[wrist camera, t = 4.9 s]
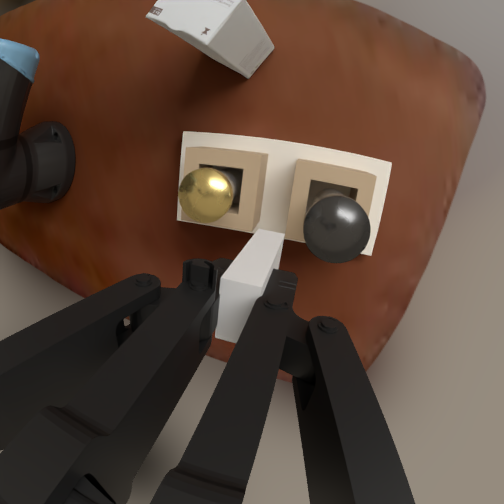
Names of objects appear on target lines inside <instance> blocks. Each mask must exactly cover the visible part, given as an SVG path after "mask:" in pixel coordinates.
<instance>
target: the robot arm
mask: <svg viewBox="0 0 504 504" xmlns="http://www.w3.org/2000/svg"><path fill="white" fill-rule="evenodd" d="M38 63H39V53H38V52H37V51H36V50H35V49H33V48H31V47H28V46H26V45H23V44H19V43H16V42H13V41H9V40H5V39H0V210H1V209H3V208H6V207H9V206H11V205H14V204H16V203H19V202H22V201H27V202H38V203H49V202H52V201H55V200H58V199H60V198H61V197H63V196H64V195H65V194H66V192H67V191H68V189H69V187H70V185H71V183H72V180H73V176H74V170H75V150H74V145H73V141H72V138H71V136H70V134H69V132H68V130H67V129H66V128H65V126H63V125H62V124H61V123H59V122H55V121H51V122H42V123H39V124H37V125H35V126H33V127H31V128H29V129H27V130H26V131H24V132H22V133H20V134H19V130H20V125H21V121H22V117H23V113H24V109H25V106H26V102H27V99H28V96H29V92H30V89H31V86H32V83H34V76H35V72H36V69H37V66H38ZM284 236H285V234H282V233H277V232H273V231H268V230H263V229H258V230H257V231H256V232H255V234H254V235H253V236H252V238H251V239H250V240H249V242H248V243H247V244H246V245H245V247H244V248H243V249H242V251H241V252H240V253H239V255H238V256H237V257H236V258H235V260H229V259H225V258H219V259H217V260H214V261H213V262H212V261H209V260H206V259H190V260H186V261H184V262H183V278H182V283H181V284H180V285H179V286H178V287H177V288H163V287H161V282H160V280H159V278H157V277H156V276H154V275H150V274H145V273H143V274H137V275H134V276H131V277H129V278H127V279H125V280H123V281H120V282H118V283H116V284H114V285H112V286H110V287H108V288H106V289H104V290H102V291H99V292H97V293H95V294H93V295H91V296H89V297H87V298H85V299H83V300H81V301H79V302H77V303H75V304H73V305H71V306H69V307H67V308H64V309H63V310H60V311H58V312H56V313H54V314H52V315H50V316H48V317H46V318H44V319H42V320H40V321H39V322H37V323H35V324H33V325H31V326H29V327H27V328H25V329H23V330H21V331H19V332H17V333H15V334H13V335H11V336H9V337H7V338H6V339H4V340H2V341H0V450H3V449H4V450H3V451H2V452H1V453H0V504H126V503H127V501H128V499H129V497H130V494H131V489H132V482H133V479H134V477H135V476H136V474H137V472H138V470H139V469H140V467H141V465H142V464H143V462H144V460H145V458H146V457H147V455H148V453H149V452H150V450H151V448H152V446H153V445H154V443H155V441H156V439H157V438H158V436H159V434H160V432H161V431H162V429H163V427H164V426H165V424H166V422H167V421H168V419H169V417H170V415H171V414H172V412H173V410H174V408H175V407H176V405H177V403H178V401H179V399H180V398H181V396H182V394H183V393H184V391H185V389H186V387H187V386H188V384H189V382H190V380H191V379H192V377H193V375H194V373H195V372H196V370H197V368H198V366H199V364H200V363H201V361H202V359H203V357H204V356H205V354H206V352H207V351H208V349H209V347H210V345H211V341H212V333H213V332H214V330H215V328H216V333H215V338H219V339H222V340H226V341H230V342H234V343H236V345H235V348H234V350H233V352H232V354H231V356H230V358H229V360H228V363H227V365H226V367H225V369H224V371H223V373H222V375H221V378H220V380H219V382H218V384H217V386H216V388H215V390H214V393H213V395H212V397H211V399H210V401H209V403H208V405H207V407H206V409H205V412H204V414H203V416H202V418H201V420H200V422H199V424H198V426H197V428H196V430H195V432H194V434H193V436H192V438H191V440H190V442H189V444H188V446H187V448H186V450H185V452H184V454H183V457H182V458H181V460H180V462H179V464H178V466H177V467H176V468H174V469H171V470H170V471H169V472H168V473H167V474H166V475H165V477H164V479H163V481H162V482H161V484H160V486H159V488H158V489H157V491H156V493H155V495H154V497H153V499H152V501H151V503H150V504H242V502H243V498H244V495H245V490H246V486H247V483H248V480H249V476H250V473H251V470H252V466H253V463H254V460H255V456H256V453H257V449H258V446H259V442H260V439H261V435H262V431H263V428H264V424H265V421H266V417H267V413H268V409H269V405H270V402H271V398H272V394H273V390H274V386H275V382H276V378H277V374H278V370H279V369H281V370H283V371H285V372H287V373H289V374H291V375H293V376H292V383H293V389H294V396H295V402H296V408H297V415H298V422H299V428H300V435H301V442H302V448H303V456H304V462H305V470H306V476H307V484H308V491H309V499H310V504H415V502H414V498H413V495H412V492H411V489H410V486H409V484H408V480H407V477H406V475H405V472H404V469H403V466H402V463H401V460H400V458H399V455H398V452H397V450H396V447H395V444H394V441H393V439H392V436H391V434H390V431H389V428H388V426H387V423H386V421H385V418H384V415H383V413H382V410H381V408H380V406H379V403H378V401H377V398H376V396H375V393H374V391H373V388H372V386H371V384H370V381H369V379H368V376H367V374H366V372H365V369H364V367H363V365H362V363H361V360H360V358H359V356H358V353H357V351H356V349H355V347H354V344H353V342H352V340H351V338H350V335H349V333H348V331H347V329H346V327H345V326H344V324H343V323H341V322H340V321H338V320H337V319H335V318H332V317H327V316H317V317H314V318H312V319H311V320H310V321H309V322H308V321H306V320H304V319H302V318H300V317H299V316H297V315H296V314H295V313H294V311H293V309H292V305H293V300H294V295H295V290H296V285H297V280H298V278H297V277H296V275H295V273H292V272H287V271H283V270H278V268H279V263H280V257H281V252H282V247H283V241H284ZM127 316H129V317H130V324H129V325H128V326H124V321H123V319H124V318H126V317H127Z"/></svg>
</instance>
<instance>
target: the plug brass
mask: <svg viewBox="0 0 504 504" xmlns="http://www.w3.org/2000/svg"><path fill="white" fill-rule="evenodd" d="M242 178H243V174H242V173H241V172H240V171H239V170H237V169H235V168H226V169H222V170H219V171H218V170H216V169H213V168H201V169H197V170H194V171H192V172H190V173H188V174H187V175H186V176H185V177H184V179H183V180H182V182H181V184H180V187H179V192H178V197H179V202H180V205H181V207H182V209H183V211H184V212H185V213H186V215H187V216H189V217H190V218H191V219H193V220H195V221H197V222H201V223H211V222H214V221H216V220H218V219H220V218H221V217H222V216H224V215H225V214H226V213H227V212H228V210H229V209H230V207H231V205H232V201H233V199H235V198H236V197H238V196H239V195H240V194H241V186H242Z"/></svg>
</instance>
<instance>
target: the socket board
mask: <svg viewBox="0 0 504 504" xmlns="http://www.w3.org/2000/svg"><path fill="white" fill-rule="evenodd" d="M391 165H392V163H391V162H387V161H383V160H379V159H375V158H371V157H366V156H362V155H358V154H353V153H349V152H344V151H339V150H334V149H329V148H323V147H318V146H312V145H307V144H301V143H294V142H288V141H281V140H274V139H266V138H258V137H249V136H240V135H230V134H218V133H204V132H187V131H183V139H182V150H181V162H180V175H179V187H180V184H181V182H182V180H183V179H184V177H185V176H186V175H187V174H188V173H190V172H192V171H194V170H197V169H201V168H213V169H216V170H218V171H219V170H222V169H226V168H235V169H237V170H239V171H240V172H241V173H242V174H243V178H242V186H241V194H240V195H239V196H238V197H236V198H235V199H233V201H232V205H231V207H230V209H229V210H228V212H227V213H226V214H225V215H224V216H222V217H221V218H220V219H218V220H216V221H214V222H211V223H201V222H197V221H195V220H193V219H191V218H190V217H189V216H187V215H186V213H185V212H184V211H183V209H182V207H181V205H180V202H179V197H178V209H177V220H179V221H185V222H191V223H197V224H203V225H208V226H214V227H220V228H226V229H232V230H237V231H243V232H249V233H254V234H255V232H256V231H257V230H258V229H263V230H268V231H273V232H277V233H282V234H285V236H284V239H287V240H293V241H298V242H303V243H306V242H305V239H304V235H303V226H304V219H305V216H306V213H307V212H308V210H309V208H310V207H311V206H312V203H313V199H314V197H315V196H316V194H317V193H318V192H319V191H321V190H323V189H326V188H333V189H336V190H339V191H340V192H341V193H342V194H343V195H344V196H347V197H350V198H352V199H353V200H355V201H356V202H357V203H359V205H360V206H361V207H362V208H363V209H364V211H365V212H366V214H367V216H368V218H369V221H370V227H371V232H370V238H369V241H368V244H367V246H366V247H365V249H364V250H363V251H362V252H361V254H366V255H371V254H372V251H373V247H374V243H375V239H376V235H377V231H378V227H379V223H380V219H381V215H382V210H383V206H384V201H385V196H386V192H387V187H388V182H389V176H390V171H391ZM178 192H179V191H178Z"/></svg>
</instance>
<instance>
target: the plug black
mask: <svg viewBox="0 0 504 504" xmlns="http://www.w3.org/2000/svg"><path fill="white" fill-rule="evenodd" d="M370 232H371V227H370V221H369V218H368V216H367V214H366V212H365V211H364V209H363V208H362V207H361V206H360V205H359V203H357V202H356V201H355V200H353V199H352V198H350V197H347V196H344V195H343V194H342V193H341V192H340V191H339V190H336V189H333V188H326V189H323V190H321V191H319V192H318V193H317V194H316V196H315V197H314V199H313V203H312V206H311V207H310V208H309V210H308V212H307V213H306V216H305V219H304V226H303V235H304V239H305V242H306V245H307V247H308V248H309V250H310V251H311V252H312V253H313V254H314V255H315V256H316V257H318V258H319V259H321V260H324V261H326V262H330V263H343V262H347V261H350V260H352V259H354V258H355V257H357V256H358V255H359V254H360V253H361V252H362V251H363V250H364V249H365V247H366V246H367V244H368V241H369V238H370Z"/></svg>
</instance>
